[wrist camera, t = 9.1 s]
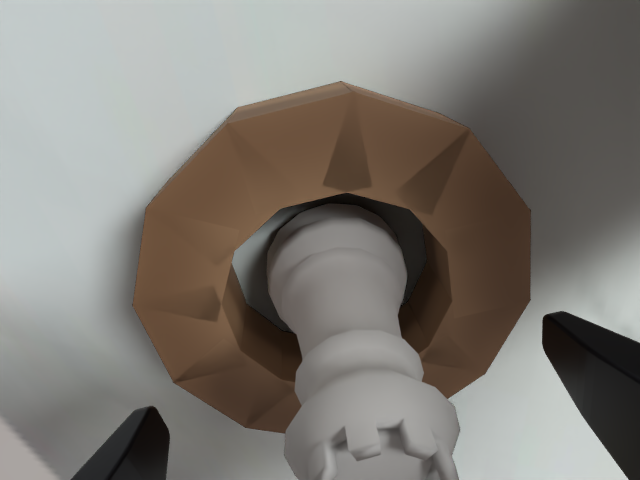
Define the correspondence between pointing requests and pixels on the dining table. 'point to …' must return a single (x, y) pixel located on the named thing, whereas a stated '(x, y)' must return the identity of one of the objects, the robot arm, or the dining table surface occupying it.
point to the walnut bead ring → (312, 184)
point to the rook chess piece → (355, 354)
